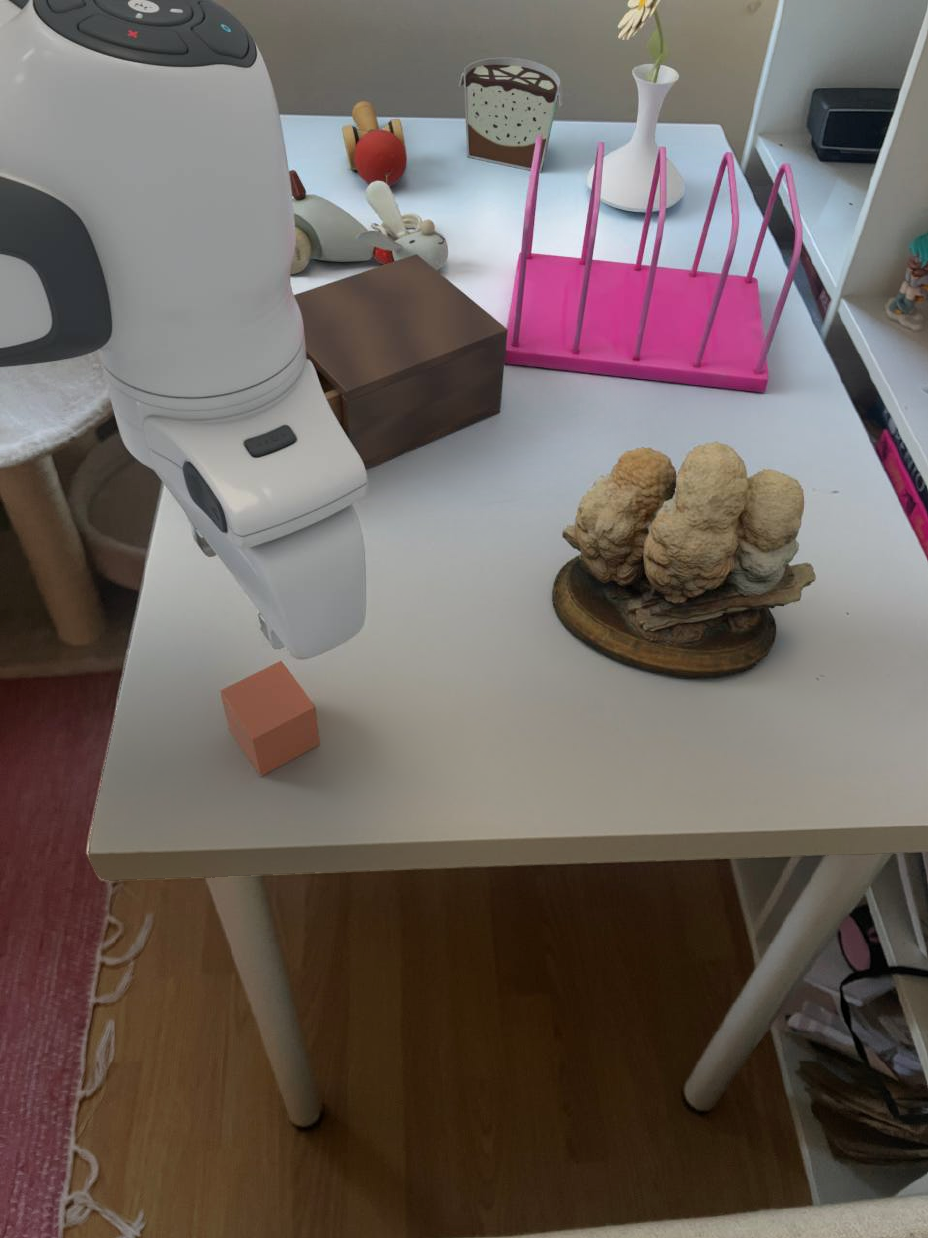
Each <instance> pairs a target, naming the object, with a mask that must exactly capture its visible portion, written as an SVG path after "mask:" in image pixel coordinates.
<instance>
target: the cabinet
mask: <svg viewBox="0 0 928 1238" xmlns="http://www.w3.org/2000/svg"><path fill="white" fill-rule="evenodd" d="M294 297H295V299H296V301H297V303H298V305H299V308H300V311H301V315H302V319H303V324H304V336H305V346H306V358H307V359H309V360H310V361H311V362H312V364H313V366H314V367H315V368H316V369H317V370H318V371H319V372H320V373H321V374H322V375H323V376H324V377H325V378H326V379H327V380H328V381H329V382H330V383H331V384H332V385H333V386H334V387H335V388H336V389H337V391H338V392H339V393H340V394H341V395H342V407H343V424H344V432H345V433H346V435H347V436H348V438H349V440H350V441H351V443H352V444H353V446H354V448H355V449H356V451H357V452H358V454H359V456H360V457H361V459H362V461H363V463H364V466H365V469H366V470H369V469H371V468H373V467H376V466H378V465H381V464H383V463H385V462H387V461H390V460H392V459H394V458H397V457H400V456H402V455H404V454H406V453H409V452H411V451H413V450H415V449H418V448H420V447H423V446H425V445H427V444H429V443H432V442H434V441H437V440H439V439H441V438H443V437H446V436H448V435H450V434H453V433H455V432H458V431H460V430H462V429H465V428H467V427H469V426H472V425H474V424H476V423H478V422H481V421H484V420H486V419H488V418H491V417H492V416H495V415H497V414H500V413H501V407H502V406H501V404H502V396H503V395H502V394H503V387H504V386H503V384H504V373H505V364H506V363H505V354H506V343H507V333H508V329H507V327H506V326H504V325H503V324H502V323H501V322H500V321H498V320H497V319H496V318H495V317H493V316H492V315H491V314H490V313H489V312H487V311H486V309H483V307H481V306H480V305H479V304H478V303H476V301H474V300H473V299H471V297H469V295H467V294H466V293H465V292H463V291H462V290H461V289H460V288H458V286H456V285H455V284H454V283H452V282H451V281H450V280H449V279H447V278H446V276H444V275H442V274H441V273H440V272H439V270H435V269H434V268H433V267H432V266H430V265H429V264H428V263H427V262H426V261H424V260H423V259H422V258H421V257H420V256H418V255H417V254H415V255H413V256H410V257H407V258H404V259H401V260H398V261H393V262H392V263H389V264H382V265H380V266H377V267H373V268H371V269H368V270H366V271H362V272H359V273H355V274H352V275H350V276H347V277H344V278H341V279H338V280H335V281H332V282H329V283H326V284H323V285H320V286H317V287H314V288H310V289H308V290H304V291H302V292H299V293H295V294H294Z"/></svg>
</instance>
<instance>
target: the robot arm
mask: <svg viewBox="0 0 928 1238" xmlns="http://www.w3.org/2000/svg"><path fill="white" fill-rule="evenodd" d="M267 68H268V67H267V66H266V63H265V60H264V58H263V55H262V53H261V51H260V49H259V47H258V45H257V44H256V41H255V39H254V38H253V37H252V35H251V34H250V32H249V31H248V30H247V28H246V27H245V26H244V25H243V24H242V22H241V21H240V20H239V19H238V18H237V17H236V16H235V15H233V14H232V13H231V12H230V11H229V10H227V9H226V8H225V7H223V6H222V5H220V4H218V3H217V2H215V1H214V0H0V368H9V367H20V366H28V365H36V364H44V363H51V362H52V363H53V362H58V361H64V360H69V359H70V360H71V359H74V358H79V357H83V356H85V355H89V354H92V353H95V352H97V356H98V359H99V364H100V367H101V371H102V374H103V377H104V381H105V384H106V388H107V392H108V395H109V399H110V403H111V407H112V410H113V414H114V417H115V421H116V425H117V429H118V432H119V436H120V438H121V441H122V443H123V445H124V446H125V449H126V450H127V451H128V452H129V453H130V454H131V456H132V457H134V458H135V460H137V461H139V462H140V463H141V464H142V465H144V466H146V467H147V468H149V469H151V470H153V471H154V473H155V474H156V475H157V477H158V478H159V479H160V481H161V482H162V484H163V485H164V486H165V487H166V489H167V490H168V492H169V493H170V494H171V495H172V497H173V498H174V500H175V501H176V502H177V504H178V505H179V506H180V507H181V509H182V511H183V512H184V514H185V516H186V518H187V520H188V522H189V525H190V528H191V529H190V530H191V533H192V537H193V540H194V542H195V543H196V544H197V546H198V548H199V549H200V550H201V551H202V553H203V554H204V555H205V557H208V558H213V557H216V556H217V557H218V558H219V560H220V562H222V564H223V565H224V567H225V568H226V569H227V571H228V572H229V573H230V575H231V576H232V577H233V578H234V580H235V581H236V583H237V584H238V585H239V587H240V588H241V590H242V591H243V592H244V593H245V595H246V596H247V598H248V599H249V600H250V602H251V603H252V604H253V605H254V607H255V608H256V610H257V611H258V612H259V613H257V616H258V621H259V625H260V631H261V632H262V634H263V636H264V637H265V638H266V639H267V641H268V642H269V644H270V645H271V646H272V648H273V649H274V650H282V649H284V648H285V649H286V650H287V652H288V653H289V654H290V655H291V656H292V658H294V659H296V660H299V661H303V660H305V661H306V660H309V659H312V658H317V657H319V656H321V655H323V654H325V653H327V652H330V651H332V650H334V649H336V648H337V647H339V646H341V645H344V644H345V643H347V642H349V641H350V640H352V639H353V638H354V637H356V636H357V635H358V634H360V633H361V631H362V629H363V628H364V625H365V621H366V615H367V564H366V548H365V541H364V535H363V530H362V527H361V526H362V525H361V523H360V519H359V517H358V514H357V512H356V510H355V507H354V506H353V504H354V503H355V504H356V502H359V501H360V500H362V499H363V498H364V497H366V495H367V492H368V478H367V477H368V475H367V469H365V466H364V463H363V461H362V459H361V457H360V456H359V454H358V452H357V451H356V449H355V448H354V446H353V444H352V443H351V441H350V440H349V438H348V436H347V435H346V433H345V432H344V430H343V428H342V426H341V425H340V423H339V421H338V419H337V418H336V416H335V414H334V413H333V411H332V409H331V407H330V405H329V404H328V401H327V399H326V397H325V395H324V392H323V390H322V387H321V385H320V382H319V379H318V376H317V373H316V370H315V368H314V366H313V364H312V362H311V361H310V360H309V359H307V358H306V346H305V336H304V324H303V319H302V315H301V311H300V308H299V305H298V303H297V301H296V299H295V297H294V295H295V294H294V292H293V289H292V288H293V287H292V283H291V274H290V272H291V265H292V262H293V258H294V253H295V246H296V231H295V219H294V209H293V196H292V191H291V182H290V175H289V171H290V169H289V161H288V155H287V154H288V153H287V147H286V141H285V135H284V131H283V124H282V120H281V115H280V111H279V105H278V101H277V97H276V93H275V90H274V87H273V82H272V79H271V77H270V74H269V71H268V69H267Z"/></svg>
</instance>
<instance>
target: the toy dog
mask: <svg viewBox="0 0 928 1238" xmlns="http://www.w3.org/2000/svg"><path fill="white" fill-rule="evenodd" d="M289 175H290V182H291V191H292V199H293V209H294V219H295V231H296V246H295V253H294V258H293V262H292V265H291V272H290V275H295V274H298V273H301V272H302V271H303V270H305V268H306V267H307V265H308V263H309V261H310V259H312V260H313V259H314V260H318V261H326V262H335V263H338V262H339V263H349V262H354V263H355V262H365V261H370V260H371V259H372V257H374V258H375V261H376V262H378V263H380V264H382V265H386V264H389V263H392V262H395V261H398V260H401V259H404V258H407V257H410V256H413V255H415V254H417V255H418V256H420V257H421V258H422V259H423V260H424V261H426V262H427V263H428V264H429V265H430V266H432V267H433V268H434V269H435V270H436V271H439V270H441V268H443V267H444V266H445V265H446V263H447V261H448V256H449V247H448V242H447V240H446V237H445V236H444V235H443V234H442V233H441V232H440V231H438V230H436V225H435V223H434V222H433V220H431V219H424V220H423V219H422V217H421V216H420V215H418V214H416V213H411V212H409V213H402V214H401V212H400V209H399V204H398V203H397V201H396V197H395V195H394V194H393V191H392V189H391V188H390V187H391V186H388V185H387V184H386V183H385V182H383V181H375V182H372V183H371V184H368V186H366V190H365V199H366V202H367V204H368V205H369V206H370V208H371V209H372V210H373V211H374V213H375V214H376V215H377V217H378V218H379V219H380V221H381V223H380V224H378V223H376V222H371V224H370V228H372V229H373V230H369V229H367V227H366V226H364V225H363V224H362V223H361V222H360V221H359V220H358V219H356V217H354V216H352V214H351V213H349V212H347V211H346V210H344V208H341V207H340V206H339V205H337V204H336V203H333V202H332V201H330V200H329V199H326V198H324V197H322V196H319V195H317V194H310V193H309V194H308V193H307V190H306V187H305V186H304V184H303V182H302V180H301V178H300V176H299V174H298V173H297V171H296V170H295V169H291V170H289ZM407 229H414V230H412V231H410V230H407Z"/></svg>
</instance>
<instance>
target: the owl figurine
mask: <svg viewBox="0 0 928 1238" xmlns="http://www.w3.org/2000/svg"><path fill="white" fill-rule="evenodd" d="M671 460H672V459H671V458H670V456H668V455H667V454H665V453H663V452H662V451H660V450H656V449H652V448H651V447H645V446H642V447H636V448H634V449H631V450H626V451H624V452H623V453H622V454H621V455H620V456H619V457H618V459H617V463H616V464H615V465H614V466H613V467H612V469H611V471H610V473H607V474H605V475H600V476H598V477H597V478H596V479H595V480H594V481H593V485H592V486H591V487H590V488H589V489H588V490H587V492H586V493H585V494H584V495H583V496H582V497H581V499H580V500H579V504H578V508H577V511H576V516H575V521H574V525H573V524H568V525H566V527H564V528H563V530H562V534H561V536H562V538H563V539H564V540H565V541H566V542H567V543H568V545H570V546H571V548H572V549H574V550H577V551H578V552H579V553H580V554H579V555H576V556H575V557H574V558H571V559H570V560H568V561H566V563H565V564H564V565H562V567H561V568H560V569H559V571H558V572H557V574H556V576H555V579H554V582H553V585H552V591H551V593H552V595H551V596H552V597H551V602H552V606H553V608H554V609H555V614H556V616H557V618H558V620H559V621H560V622H561V624H562V625H563V627H564V628H565V629H566V630H567V631H568V632H570V634H572V635H573V636H574V637H575V638H577V639H578V640H579V641H581V642H582V643H584V645H586V646H588V647H590V648H591V649H593V650H594V651H597V652H598V653H600V654H602V655H604V656H605V657H607V658H610V659H612V660H614V661H616V662H619V663H621V664H623V665H627V666H629V667H632V668H636V669H640V670H643V671H646V672H647V671H648V672H650V673H655V674H661V675H665V676H669V677H674V678H682V679H710V678H711V679H712V678H717V679H718V678H722V677H726V676H727V677H728V676H732V675H733V676H734V675H736V674H740V673H744V672H746V671H749V670H752V669H754V667H756V666H757V664H758V663H759V664H760V662H761V661H762V660H763V659H764V658H766V657H767V656H768V655H769V653H770V651H771V649H772V648H773V646H774V644H775V643H776V638H777V623H776V622H777V621H776V618H775V616H774V615H773V613H772V611H771V610H772V609H775V608H776V607H785V606H787V605H790V604H791V603H797V602H800V601H801V599H802V591H803V589H804V588H806V587H809V586H811V585H812V583H814V582H815V581H816V579H817V575H816V573H815V571H814V566H813V565H812V564H811V563H810V562H802V563H796V564H793V565H790V563H791V562H792V561H793V560H794V557H795V556H796V554H798V551H799V550H800V543H799V541H798V540H797V537H798V535H799V532H800V529H801V526H802V520H803V519H802V518H803V514H804V510H805V494H804V489H803V487H802V485H801V484H800V482H799V480H797V479H796V478H794V477H793V476H791V475H788V474H786V473H784V472H781V471H778V470H776V469H766V468H763V469H762V470H759V471H757V472H756V473H755V474H753V475H752V476H751V475H750V477H748V472H747V468H746V464H745V461H744V460H743V459H742V457H741V456H740V455H739V454H738V452H737V451H736V450H735V449H734V448H733V447H732V446H730V445H728V444H725V443H722V442H718V441H715V442H706V443H704V444H700V445H698V446H697V447H694V448H693V449H692V450H690V451H688V453H687V454H686V456H685V458H684V460H683V462H682V463H681V465H680V467H679V469H678V471H676V467H675V466H674V465H673V463H672V461H671Z"/></svg>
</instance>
